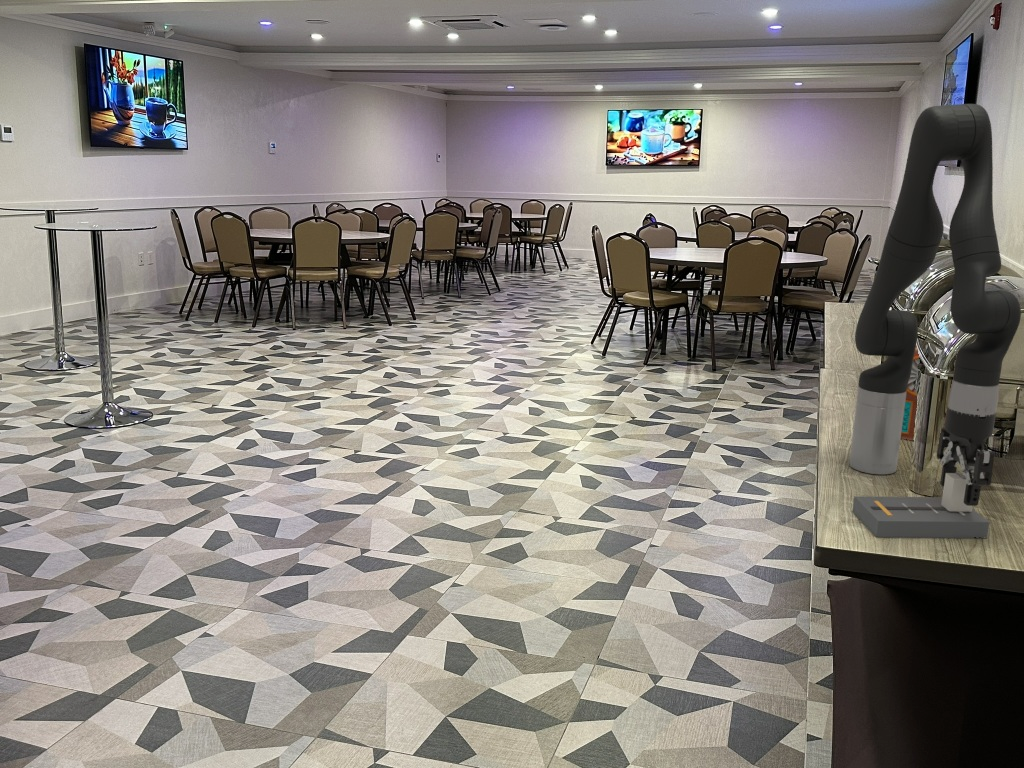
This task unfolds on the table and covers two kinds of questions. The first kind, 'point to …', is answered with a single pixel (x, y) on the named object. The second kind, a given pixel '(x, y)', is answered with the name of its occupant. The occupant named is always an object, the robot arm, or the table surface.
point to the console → (917, 518)
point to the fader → (955, 492)
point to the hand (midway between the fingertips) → (958, 495)
